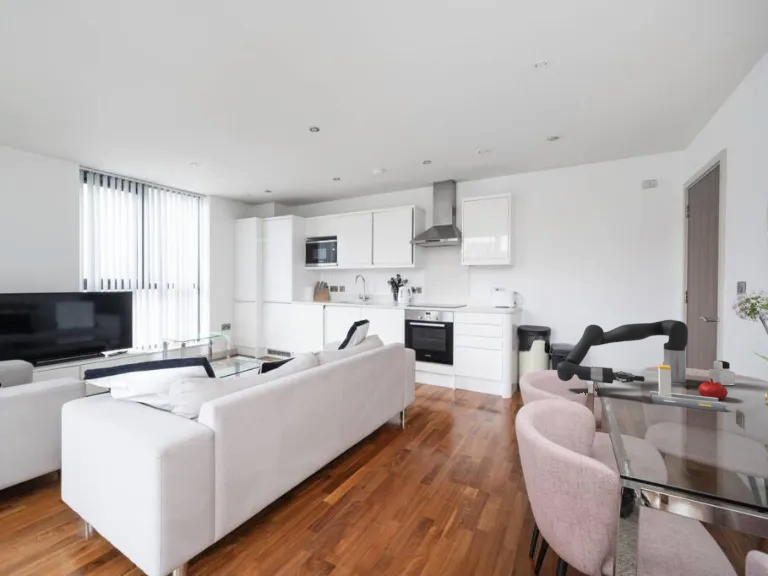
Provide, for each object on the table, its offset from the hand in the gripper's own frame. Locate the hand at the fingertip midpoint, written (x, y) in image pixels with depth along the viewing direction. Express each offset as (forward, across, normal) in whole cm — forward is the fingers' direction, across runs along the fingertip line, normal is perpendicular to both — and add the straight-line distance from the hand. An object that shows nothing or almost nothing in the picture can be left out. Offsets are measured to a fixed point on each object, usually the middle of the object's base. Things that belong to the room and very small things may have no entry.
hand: (644, 379), depth 167 cm
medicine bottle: (+37, -43, -9) cm, 58 cm away
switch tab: (+8, 0, -8) cm, 11 cm away
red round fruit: (+27, -14, -10) cm, 32 cm away
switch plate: (+15, 0, -9) cm, 17 cm away
